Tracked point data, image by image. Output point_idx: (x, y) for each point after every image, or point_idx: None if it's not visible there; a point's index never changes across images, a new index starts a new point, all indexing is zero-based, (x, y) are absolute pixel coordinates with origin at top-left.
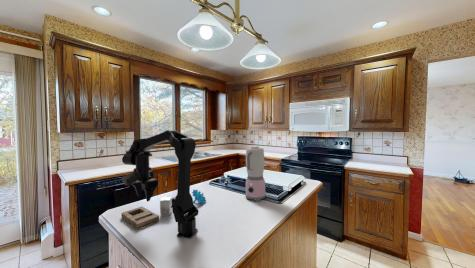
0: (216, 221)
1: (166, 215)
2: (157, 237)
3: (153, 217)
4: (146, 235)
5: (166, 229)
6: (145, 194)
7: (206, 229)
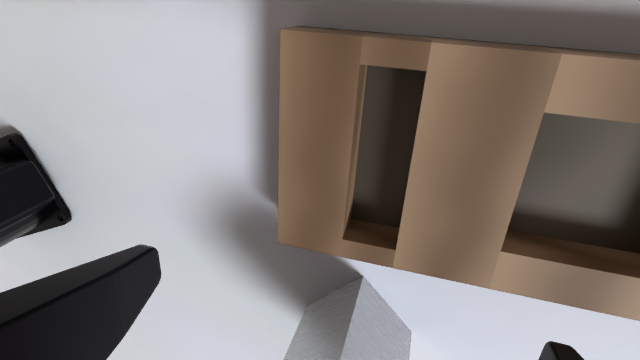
0: None
1: (323, 298)
2: (76, 56)
3: (285, 199)
4: (151, 22)
5: (136, 158)
6: (2, 323)
7: (5, 257)
